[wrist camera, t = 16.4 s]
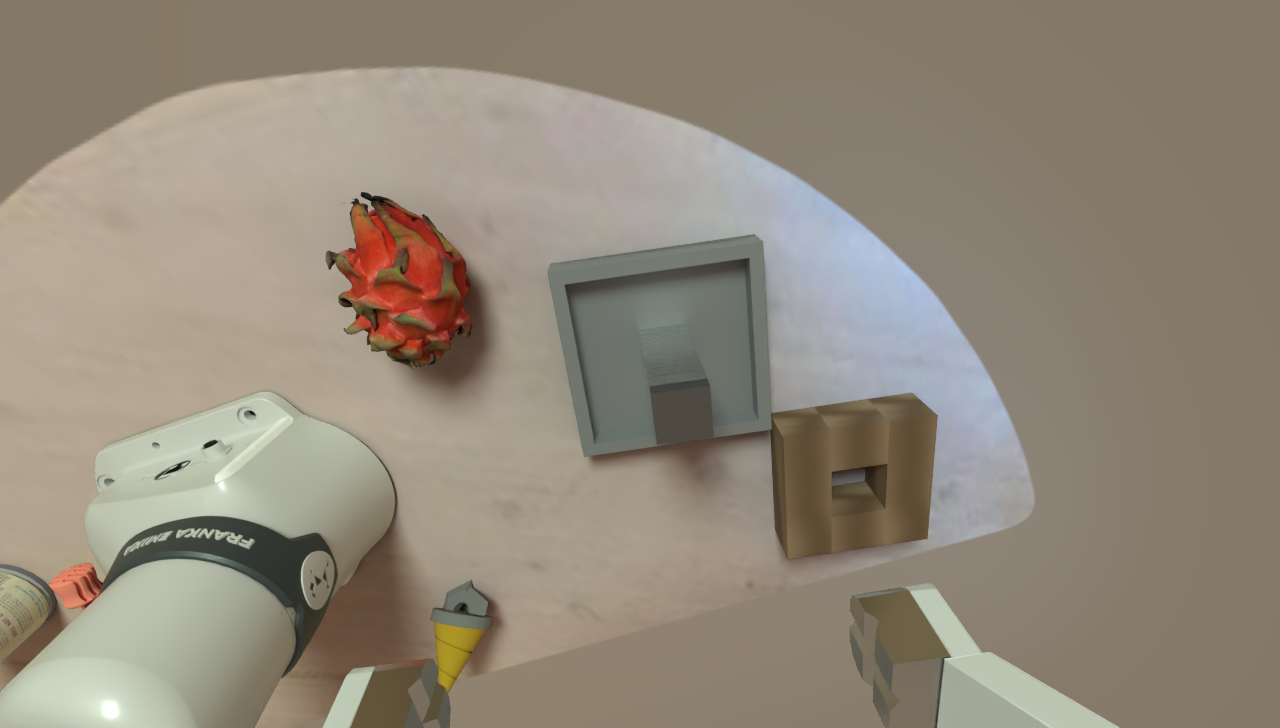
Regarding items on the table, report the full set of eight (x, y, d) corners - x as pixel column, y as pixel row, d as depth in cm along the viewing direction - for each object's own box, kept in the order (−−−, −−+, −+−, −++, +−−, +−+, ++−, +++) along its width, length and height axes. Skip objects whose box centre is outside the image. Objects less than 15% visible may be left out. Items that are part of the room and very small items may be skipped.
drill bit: (512, 586, 55) (485, 707, 51) (466, 578, 57) (436, 693, 53) (478, 581, 50) (446, 713, 47) (429, 572, 52) (395, 698, 49)
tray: (584, 440, 49) (584, 456, 46) (550, 263, 43) (547, 272, 40) (763, 414, 49) (771, 429, 46) (754, 234, 43) (763, 241, 40)
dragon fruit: (446, 349, 46) (396, 195, 43) (519, 344, 41) (469, 169, 38) (345, 389, 40) (279, 211, 37) (418, 389, 35) (348, 183, 32)
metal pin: (644, 371, 46) (656, 445, 36) (638, 329, 44) (650, 393, 34) (688, 365, 46) (714, 437, 36) (684, 323, 44) (710, 385, 34)
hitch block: (775, 528, 54) (788, 559, 50) (769, 413, 49) (783, 438, 45) (904, 509, 54) (927, 538, 50) (912, 392, 49) (937, 415, 45)
